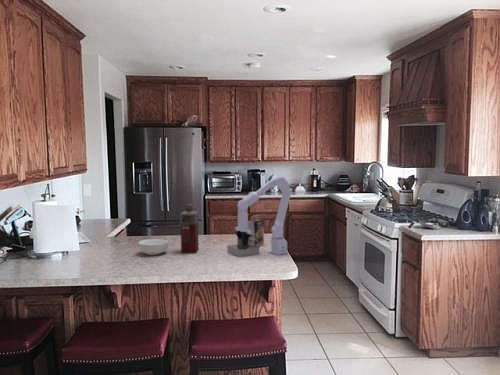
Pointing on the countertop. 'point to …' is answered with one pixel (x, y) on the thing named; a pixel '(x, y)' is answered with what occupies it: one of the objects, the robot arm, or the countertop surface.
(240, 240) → the plug
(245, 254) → the socket plate
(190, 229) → the glass bottle
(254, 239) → the coffee box
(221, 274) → the countertop surface
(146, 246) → the cereal bowl
